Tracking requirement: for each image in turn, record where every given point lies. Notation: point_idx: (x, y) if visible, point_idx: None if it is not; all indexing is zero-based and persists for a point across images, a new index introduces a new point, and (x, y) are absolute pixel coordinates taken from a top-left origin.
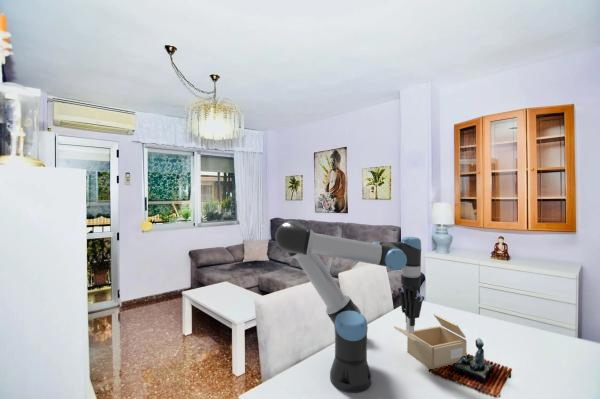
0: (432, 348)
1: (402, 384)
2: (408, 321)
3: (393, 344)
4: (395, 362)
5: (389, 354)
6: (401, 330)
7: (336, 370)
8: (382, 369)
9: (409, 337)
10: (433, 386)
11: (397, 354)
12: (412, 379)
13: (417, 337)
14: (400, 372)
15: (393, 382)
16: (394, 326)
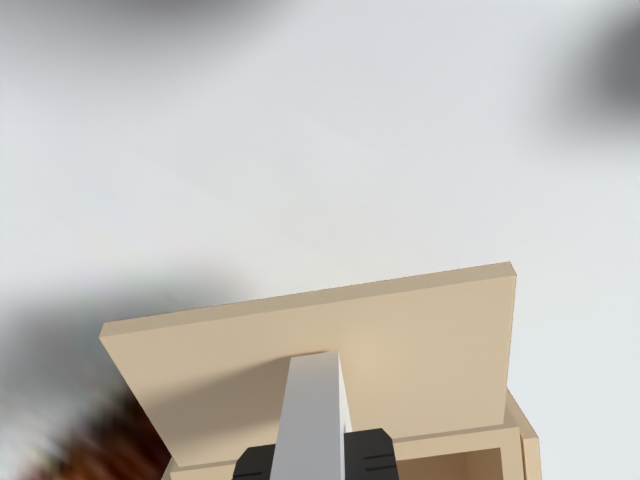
0: (175, 473)
1: (78, 80)
2: (282, 458)
3: (605, 288)
4: (348, 170)
5: (467, 179)
6: (387, 313)
7: None
8: (273, 15)
9: (188, 314)
10: (46, 278)
11: (452, 243)
12: (128, 183)
13: None
14: (217, 141)
15: (104, 24)
16: (509, 273)
